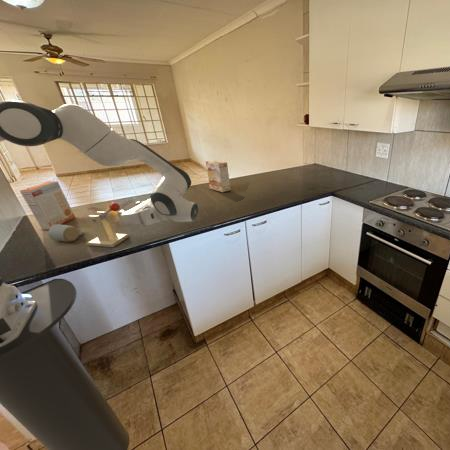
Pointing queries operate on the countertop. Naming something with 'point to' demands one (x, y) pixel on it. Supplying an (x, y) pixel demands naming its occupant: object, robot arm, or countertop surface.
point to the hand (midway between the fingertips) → (128, 208)
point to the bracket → (105, 232)
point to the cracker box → (48, 204)
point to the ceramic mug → (64, 233)
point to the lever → (112, 208)
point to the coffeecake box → (218, 175)
